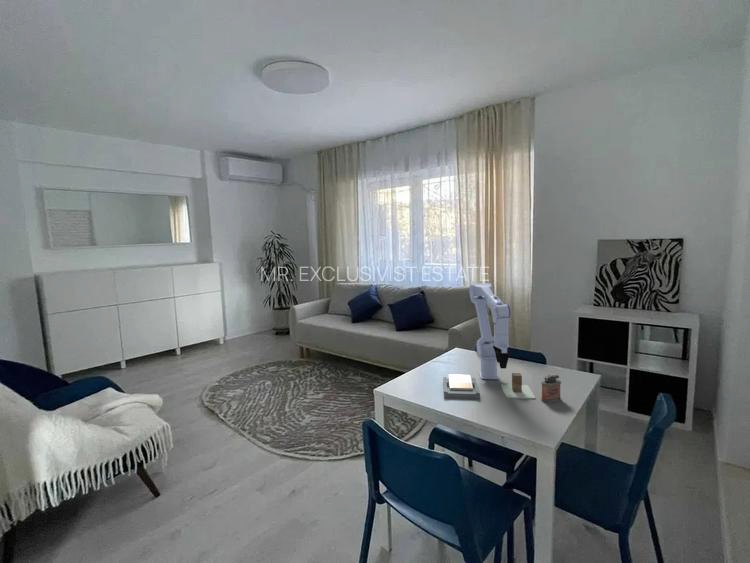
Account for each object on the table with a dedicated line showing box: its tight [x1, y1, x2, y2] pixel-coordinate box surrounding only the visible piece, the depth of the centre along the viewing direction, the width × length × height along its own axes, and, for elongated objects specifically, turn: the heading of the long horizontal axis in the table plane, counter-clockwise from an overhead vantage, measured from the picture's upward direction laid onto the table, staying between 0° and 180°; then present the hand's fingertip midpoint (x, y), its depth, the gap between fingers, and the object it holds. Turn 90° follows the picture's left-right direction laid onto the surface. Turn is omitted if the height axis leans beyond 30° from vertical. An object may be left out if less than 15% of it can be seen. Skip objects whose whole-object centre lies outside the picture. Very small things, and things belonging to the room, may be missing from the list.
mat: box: [500, 384, 537, 400], centre depth 152 cm, size 13×11×1 cm
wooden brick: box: [511, 372, 523, 392], centre depth 151 cm, size 3×3×7 cm
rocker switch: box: [448, 373, 473, 390], centre depth 155 cm, size 10×9×1 cm
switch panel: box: [442, 376, 481, 400], centre depth 155 cm, size 16×14×4 cm
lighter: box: [541, 373, 562, 404], centre depth 143 cm, size 8×3×10 cm, turn 105°
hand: (501, 365), depth 154 cm, fingers open, 7 cm apart
